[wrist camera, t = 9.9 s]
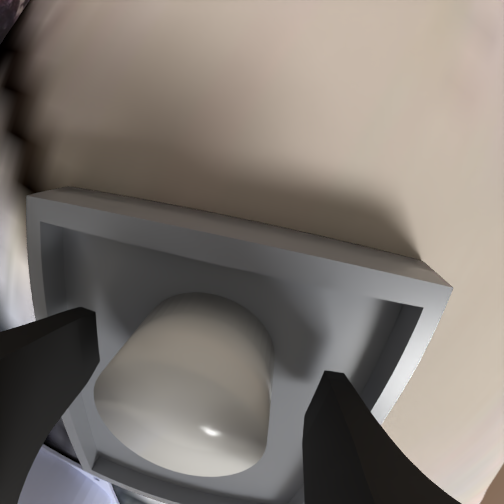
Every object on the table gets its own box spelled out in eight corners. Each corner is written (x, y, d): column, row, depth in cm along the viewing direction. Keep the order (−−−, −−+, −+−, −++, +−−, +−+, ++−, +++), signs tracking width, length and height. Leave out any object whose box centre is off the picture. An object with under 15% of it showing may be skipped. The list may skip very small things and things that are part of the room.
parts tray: (98, 446, 14) (83, 470, 12) (67, 186, 9) (26, 195, 7) (295, 497, 13) (294, 526, 11) (422, 261, 9) (453, 287, 7)
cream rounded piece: (143, 381, 10) (105, 445, 7) (145, 276, 9) (83, 333, 6) (258, 411, 10) (247, 488, 7) (289, 311, 9) (289, 392, 5)
